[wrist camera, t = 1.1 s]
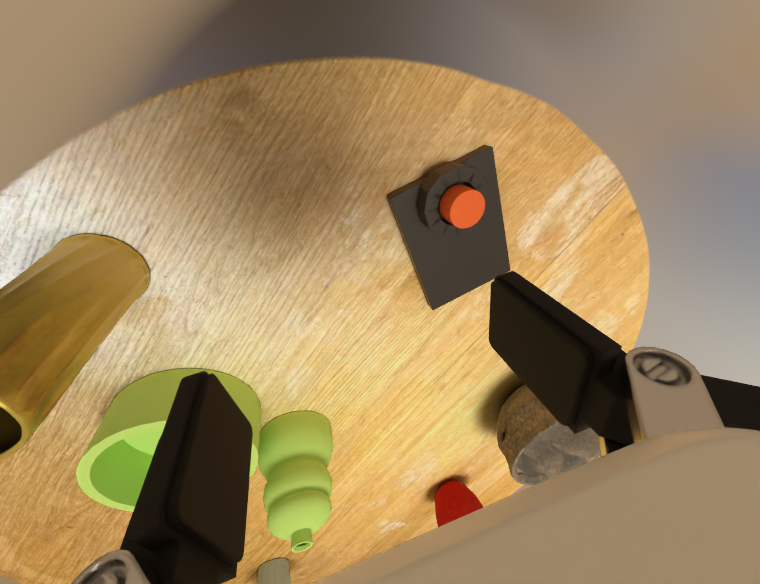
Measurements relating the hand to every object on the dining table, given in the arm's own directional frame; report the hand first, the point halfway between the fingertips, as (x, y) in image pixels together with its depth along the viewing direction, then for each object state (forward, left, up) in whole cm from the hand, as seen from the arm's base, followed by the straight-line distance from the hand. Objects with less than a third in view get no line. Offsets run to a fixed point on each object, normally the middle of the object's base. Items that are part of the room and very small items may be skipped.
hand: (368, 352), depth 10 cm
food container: (+19, -21, -19) cm, 35 cm away
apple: (+63, -4, -19) cm, 66 cm away
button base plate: (+9, +11, -19) cm, 24 cm away
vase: (-3, -17, -19) cm, 26 cm away
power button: (+5, +11, -16) cm, 20 cm away
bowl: (+45, +17, -19) cm, 52 cm away
